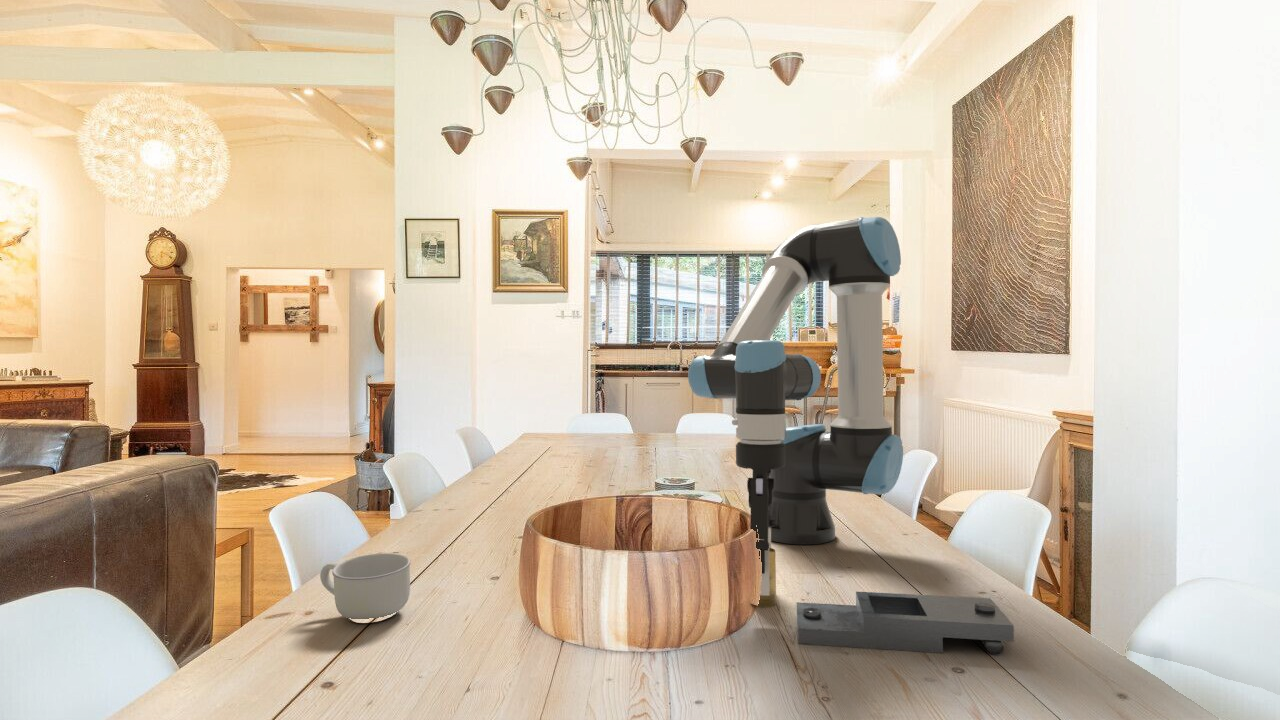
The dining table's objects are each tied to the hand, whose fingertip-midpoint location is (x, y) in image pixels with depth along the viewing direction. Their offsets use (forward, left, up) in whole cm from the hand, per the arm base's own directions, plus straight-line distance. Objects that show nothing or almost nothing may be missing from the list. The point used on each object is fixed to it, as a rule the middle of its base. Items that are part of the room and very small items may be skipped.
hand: (761, 580), depth 107 cm
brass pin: (0, 0, -3) cm, 3 cm away
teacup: (+15, -58, -4) cm, 60 cm away
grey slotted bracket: (+10, +18, -3) cm, 21 cm away
